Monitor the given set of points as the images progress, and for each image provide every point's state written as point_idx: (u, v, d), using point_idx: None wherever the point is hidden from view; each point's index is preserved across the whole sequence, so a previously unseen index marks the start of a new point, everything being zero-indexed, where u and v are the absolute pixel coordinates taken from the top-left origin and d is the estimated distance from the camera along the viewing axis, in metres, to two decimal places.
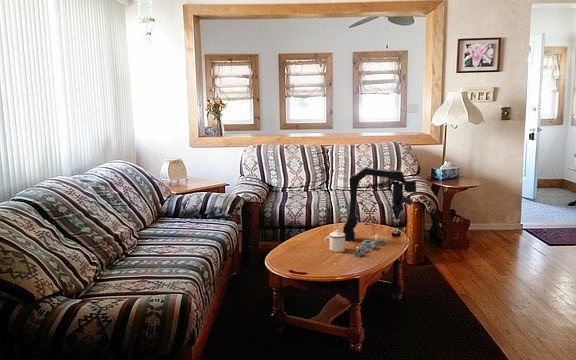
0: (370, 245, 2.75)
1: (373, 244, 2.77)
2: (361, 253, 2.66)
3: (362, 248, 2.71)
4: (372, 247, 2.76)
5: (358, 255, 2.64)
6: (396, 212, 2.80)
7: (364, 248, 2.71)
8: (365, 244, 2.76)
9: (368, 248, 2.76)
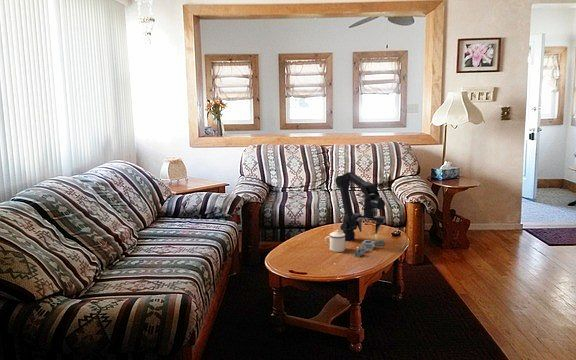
0: (370, 245, 2.75)
1: (373, 244, 2.77)
2: (361, 253, 2.66)
3: (362, 248, 2.71)
4: (372, 247, 2.76)
5: (358, 255, 2.64)
6: (378, 226, 2.73)
7: (364, 248, 2.71)
8: (365, 244, 2.76)
9: (368, 248, 2.76)
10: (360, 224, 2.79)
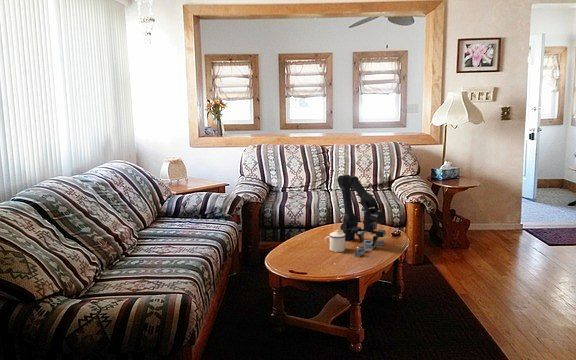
0: (370, 245, 2.75)
1: None
2: (361, 253, 2.66)
3: (362, 248, 2.71)
4: (372, 247, 2.76)
5: (358, 255, 2.64)
6: (375, 239, 2.75)
7: (364, 248, 2.71)
8: (365, 244, 2.76)
9: (368, 248, 2.76)
10: (362, 238, 2.80)
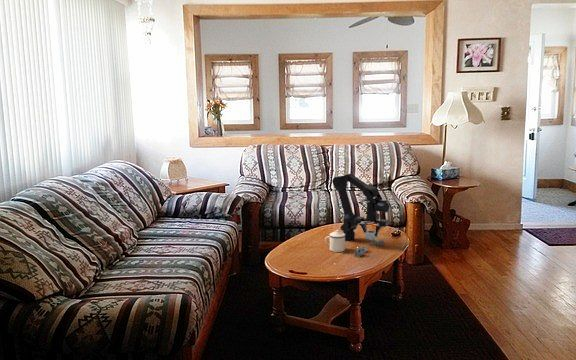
0: (373, 235, 2.77)
1: None
2: (361, 253, 2.66)
3: (362, 248, 2.71)
4: (375, 237, 2.79)
5: (358, 255, 2.64)
6: None
7: (364, 248, 2.71)
8: (368, 234, 2.79)
9: (371, 237, 2.78)
10: (365, 228, 2.82)
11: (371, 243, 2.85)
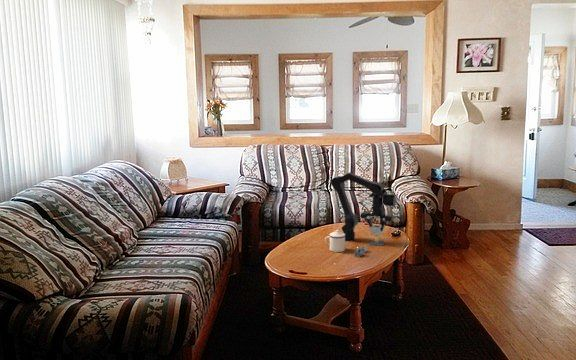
0: (379, 229, 2.82)
1: None
2: (361, 253, 2.66)
3: (362, 248, 2.71)
4: (380, 231, 2.83)
5: (358, 255, 2.64)
6: (384, 223, 2.82)
7: (364, 248, 2.71)
8: (374, 228, 2.83)
9: (377, 232, 2.82)
10: (371, 222, 2.86)
11: (371, 243, 2.85)
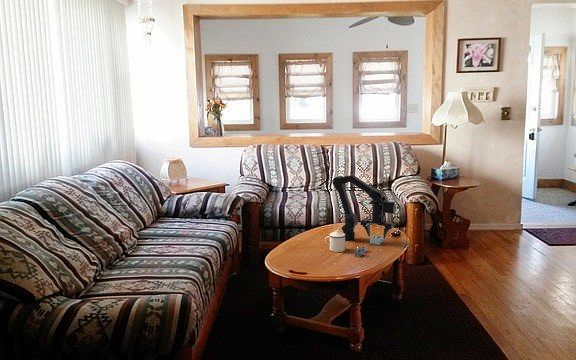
0: (378, 240, 2.83)
1: (381, 239, 2.85)
2: (361, 253, 2.66)
3: (362, 248, 2.71)
4: (380, 242, 2.84)
5: (358, 255, 2.64)
6: None
7: (364, 248, 2.71)
8: (374, 239, 2.84)
9: (377, 242, 2.83)
10: (369, 229, 2.88)
11: None
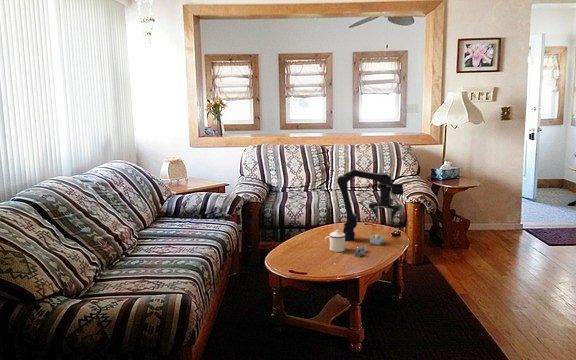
0: (378, 240, 2.83)
1: (381, 239, 2.85)
2: (361, 253, 2.66)
3: (362, 248, 2.71)
4: (380, 242, 2.84)
5: (358, 255, 2.64)
6: (394, 214, 2.86)
7: (364, 248, 2.71)
8: (374, 239, 2.84)
9: (377, 242, 2.83)
10: (377, 212, 2.92)
11: None
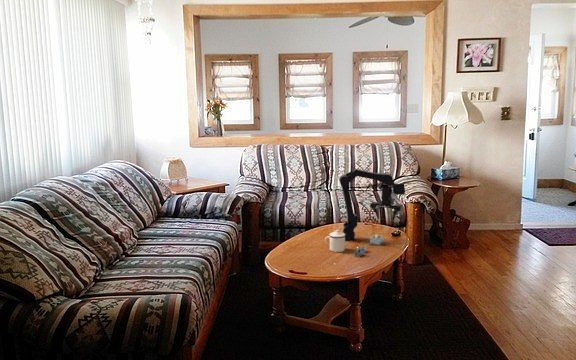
0: (378, 240, 2.83)
1: (381, 239, 2.85)
2: (361, 253, 2.66)
3: (362, 248, 2.71)
4: (380, 242, 2.84)
5: (358, 255, 2.64)
6: None
7: (364, 248, 2.71)
8: (374, 239, 2.84)
9: (377, 242, 2.83)
10: (378, 212, 2.94)
11: None
